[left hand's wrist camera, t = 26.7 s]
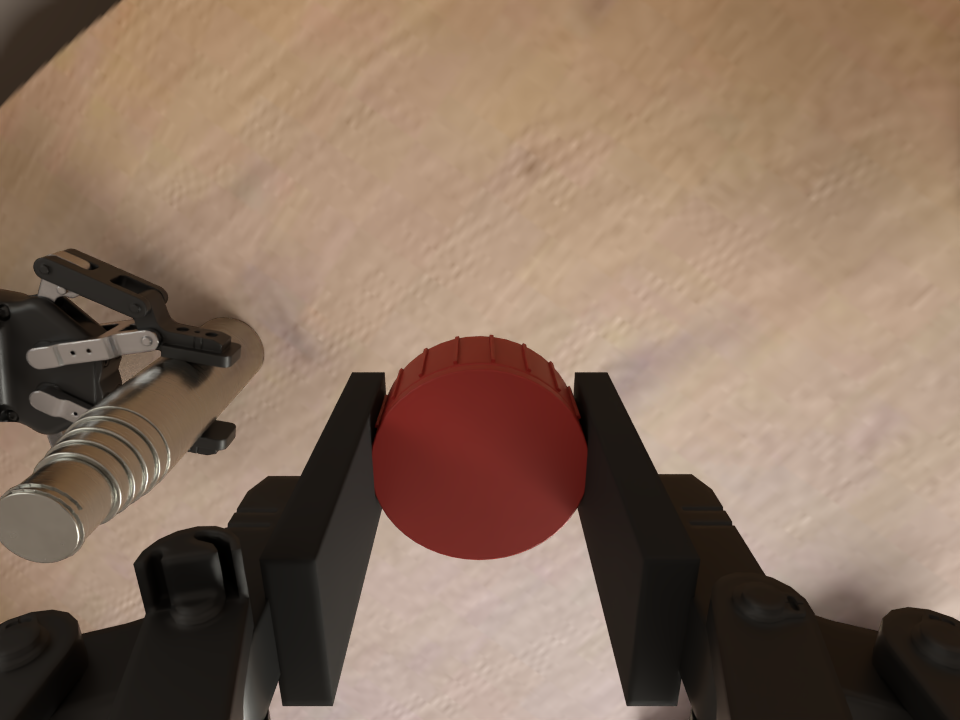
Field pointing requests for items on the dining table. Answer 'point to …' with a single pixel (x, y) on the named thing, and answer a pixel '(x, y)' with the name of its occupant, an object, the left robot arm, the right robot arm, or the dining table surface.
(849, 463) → the dining table surface
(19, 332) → the right robot arm
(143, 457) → the bottle
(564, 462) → the cap
